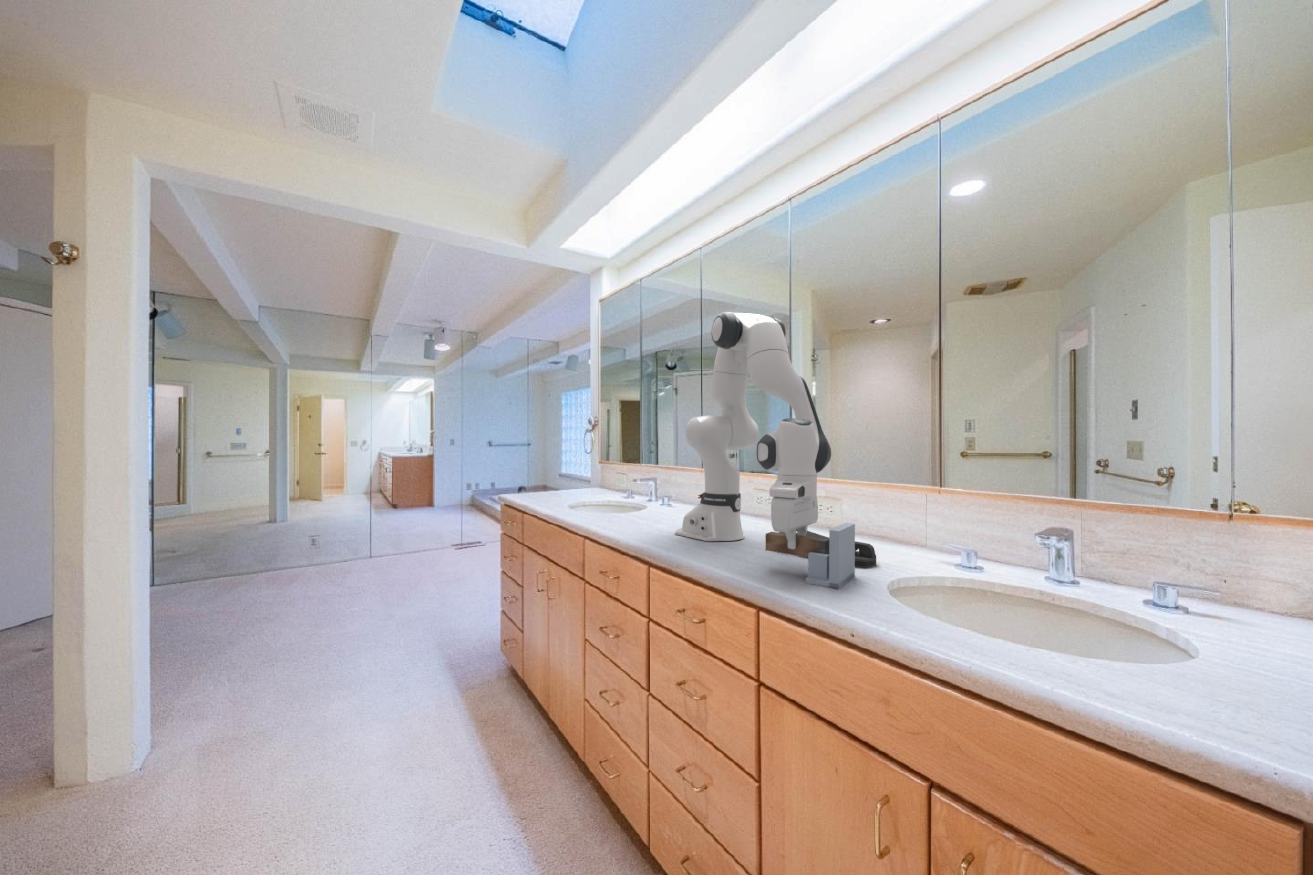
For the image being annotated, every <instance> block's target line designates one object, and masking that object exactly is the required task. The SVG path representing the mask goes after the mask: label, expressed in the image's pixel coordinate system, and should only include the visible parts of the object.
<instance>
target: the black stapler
mask: <svg viewBox="0 0 1313 875" xmlns="http://www.w3.org/2000/svg"><path fill="white" fill-rule="evenodd" d="M797 532H798V529H797V530H796V534H795V535H797ZM778 533H782V532H778ZM806 536H810V537H817V538H825V539H829V536H825V535H821V534H819V533H816V532H813V531H810V530H807V533H806ZM876 566H877V555H876V550H875V547H874V546H873V545H872V544H870V543H867V542H863V541H862V542H861V541H856V540H855V568H858V569H872V568H875V567H876Z"/></svg>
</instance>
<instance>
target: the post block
mask: <svg viewBox="0 0 1313 875" xmlns="http://www.w3.org/2000/svg"><path fill="white" fill-rule="evenodd" d="M828 534H829V536H828V537H829V555H828V554H821V553H815V552H810V553H808V557H807V577H805V583H806V584H811V585H817V586H821V587H826V588H830V589H831V588H832V589H837V590H839V589H841V588H842V587H844V586H845V585H846V584H847V583H849V582H850V581H851V580H852V579H853V578H854V577H855V575H856V574H855V573H856V571H855V570H856V569H855V568H856V567H855V541H856V523H852V522H845V523H842V524H840V525H837V526H836V527H833V528H831V529H829V533H828Z"/></svg>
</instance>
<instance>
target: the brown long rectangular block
mask: <svg viewBox="0 0 1313 875" xmlns="http://www.w3.org/2000/svg"><path fill="white" fill-rule="evenodd" d="M796 541H798V544H797V545H798V547H797V548H796V549H789V548H788V541H787V538H786V534H785V533H779V532H776V531H770V532H767V533H765V551H767V552H772V553H779V554H786V555H791V556H792V555H793V556H798V557H805V558H808V553H810V552H815V553H821V554H828V555H829V539H825V538H817V537H810V536H802V535H796Z"/></svg>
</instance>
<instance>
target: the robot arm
mask: <svg viewBox="0 0 1313 875" xmlns="http://www.w3.org/2000/svg"><path fill="white" fill-rule="evenodd" d="M786 335H787V334H786V326H785V324H784V322H783V321H782V320H781V319H778V318H776V317H773V316H767V315H762V314H759V313H758V314H757V313H753V312H752V313H746V312H745V313H744V312H733V311H724V312H721V313H719V314H718V315H717V316H716V317H715V319H714V321H713V323H712V327H711V339H712V341H713V343H714V345H715V346H716V347H718V348H717V352H716V353H715V354H716V355H715V359H714V365H713V368H712V369H713V370H712V371H713V372H712V377H711V387H710V396H711V398H712V399H713V401H714V402H716V403H717V404H719V405H720V408H721V415H708V414H706V415H699V416H695V417H691V418H690V420H689V421H688V422H687V424H686V426H685V430H684V434H685V439H686V442H687V444H688V445H689V446H690V447H692V448H693V450H695V451H696V453H697V454H698V456H699V458H700V460H701V462H702V465H703V471H704V492H702V493H701V494H698V495H697V496H698V497H697V499H700V501H699V504H697V505H696V506H694V507H693V508H692V509H691V510H690V511H688V512H686V514H685V515H684V517H683V520H682V526H681V527H680V528H677V529H676V530H675V533H674V534H675V535H677V536H682V537H687V538H691V539H696V540H700V541H705V542H718V541H719V542H720V541H721V542H727V541H731V542H732V541H738V540H739V541H740V540H742V539H744V538H745V535H744V530H743V527H742V519H741V508H742V507H741V506H742V496H741V493H740V474H741V473H740V470H739V467H738V466H737V465H736V464H735V463H733V462H731V461H730V460H729V458H728V456H727V451H729V450H730V451H731V450H732V451H741V450H744V449H749V448H753V447H754V446H755V445H757V446H756V460H757V462H758V463H759V465H760V466H761V467H762V468H763V469H764V470H765V471H771V472H777V474H776V475H777V479H776V480H775V482H774V483H773V484H772V485H771V486H770V487H769V497H770V498H771V497H772V499H771V503H770V517H771V518H770V519H771V526H772V527H771V528H772V529H773V532H778V533H779V532H782V533H785V534H786V538H787V541H788V548H789V549H796V548H797V547H798V545H797V544H798V541H796V535H795V534H796V533H797V535H802V536H806V533H807V531H808V527H809V526H810V525H812V524H816V523H818V518H819V506H818V503H819V502H818V496H817V494H818V491H817V488H818V484H817V483H818V482H817V481H818V479H817V478H818V475H817V474H818V473H820V472H822V471H823V470H824V469H825V467H826V466H828V464H829V463H830V460H831V458H832V449H831V445H830V442H829V440H828V439H827V436H826V435H825V433H824V431H823V428H822V424H821V423H820V420H819V415H818V413H817V410H816V407H815V404H814V401H813V397H812V395H811V392H810V390H809V387H808V383H807V382H806V380H805V378H803V377H801V376H800V375H799V374H798V372H797V371H796V370H795V368H794V366H793V365H792V362H791V359H790V353H789V348H788V343H787V340H786ZM749 378H750V381H751V383H753V384H754V386H755V387H757V389H759V390H761V391H763V392H764V393H767V394H770V395H772V396H775V397H777V398H779V399H782V400H783V401H784V402H786V403H787V404H788V405H789V406H790V407H791V409H792V410H793V413H794V416H795V418H794V417H792V418H791V417H789V418H783V419H781V420H780V421H779V423H778V427H777V428H776V429H774V430H773V431H772V432H770V433H766V434H764V435H763V436H762V437H761V438H760V439H759V436H760V430H759V427H758V424H757V422H756V421H755V420H754V419H753V418H752V416H751V415H750V413H749V409H748V406H747V386H748V381H749V380H748V379H749ZM797 529H798V532H797V531H796V530H797Z"/></svg>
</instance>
